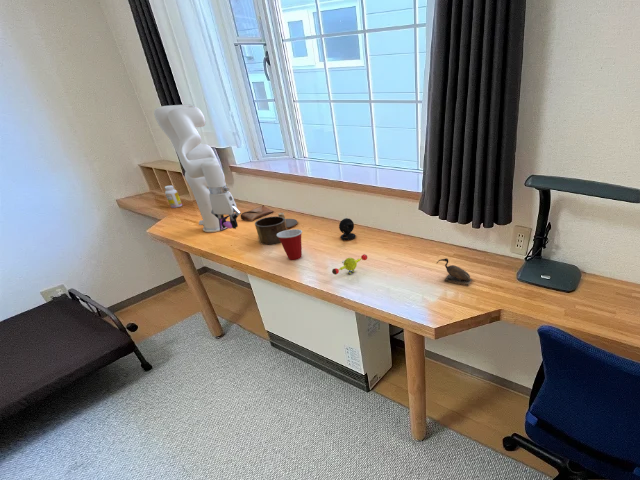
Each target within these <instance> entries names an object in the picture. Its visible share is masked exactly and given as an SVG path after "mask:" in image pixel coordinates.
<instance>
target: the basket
mask: <svg viewBox="0 0 640 480" xmlns="http://www.w3.org/2000/svg"><path fill="white" fill-rule="evenodd" d="M285 219H286V218H285ZM285 219H284V218H283V217H279V216H278V215H277V216H275V215H274V216H266V217H262V218H259V219H257V220H256V221H255V222H254V226H255V229H256V233H257V237H258V240H259V243H260V244H261V245H264V246H275V245H279V244H281V242H280V240H279V238H278V237H277V236H276V235H277V233H279V232H282V231H285V230H288V228H287V226H286V222H285Z"/></svg>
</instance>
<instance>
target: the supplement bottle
mask: <svg viewBox="0 0 640 480" xmlns="http://www.w3.org/2000/svg"><path fill="white" fill-rule="evenodd" d="M164 190H165V191H164V194H165V197H166V199H167V201H168V204H169V206H170V208H172V209H177V208H181V207H182V206H183V203H182V200H181V198H180V194H179V193H178V190H176V189H175V187H174V185H171V184H170V185H166V186H164Z"/></svg>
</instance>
